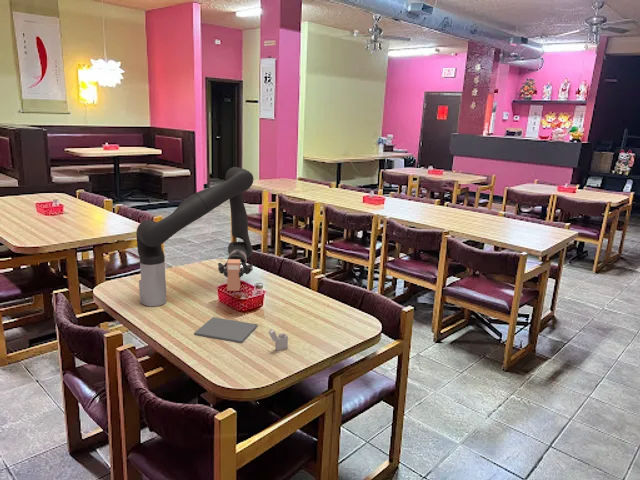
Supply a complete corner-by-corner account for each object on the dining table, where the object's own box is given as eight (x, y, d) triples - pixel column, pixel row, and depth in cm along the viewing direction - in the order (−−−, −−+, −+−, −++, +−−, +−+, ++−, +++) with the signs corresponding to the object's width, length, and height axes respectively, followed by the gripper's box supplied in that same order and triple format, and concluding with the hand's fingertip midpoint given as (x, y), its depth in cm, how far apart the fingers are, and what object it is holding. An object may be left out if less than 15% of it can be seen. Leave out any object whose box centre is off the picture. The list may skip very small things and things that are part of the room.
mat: (194, 334, 169) (194, 332, 169) (213, 319, 182) (213, 317, 182) (241, 343, 164) (241, 341, 164) (257, 326, 177) (257, 324, 177)
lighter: (284, 345, 164) (285, 324, 162) (287, 347, 163) (288, 325, 161) (267, 351, 160) (268, 329, 157) (270, 353, 158) (271, 331, 156)
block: (227, 290, 183) (227, 262, 180) (228, 286, 187) (228, 259, 184) (239, 290, 183) (239, 263, 180) (240, 286, 188) (240, 259, 185)
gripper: (219, 251, 196) (213, 264, 179) (254, 252, 197) (252, 265, 181) (219, 269, 198) (213, 283, 181) (254, 270, 199) (252, 284, 183)
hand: (233, 274), depth 181 cm, fingers closed on block, 4 cm apart
